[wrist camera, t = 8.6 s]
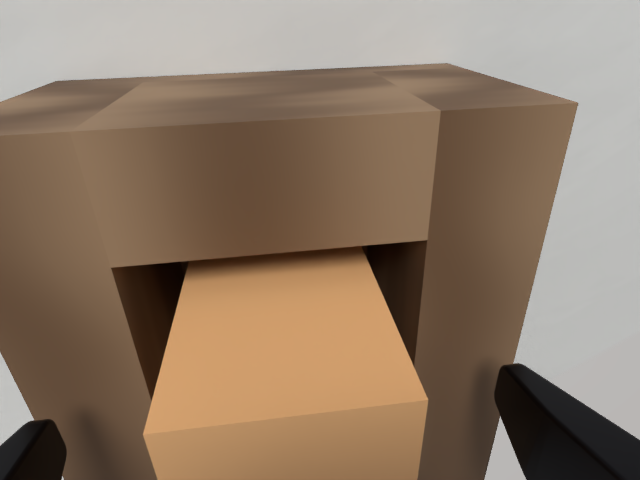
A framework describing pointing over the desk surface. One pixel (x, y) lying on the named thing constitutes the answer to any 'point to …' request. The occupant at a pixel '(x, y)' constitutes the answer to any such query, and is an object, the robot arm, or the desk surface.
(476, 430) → the socket
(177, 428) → the peg
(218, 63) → the desk surface
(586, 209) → the desk surface
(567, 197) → the desk surface
